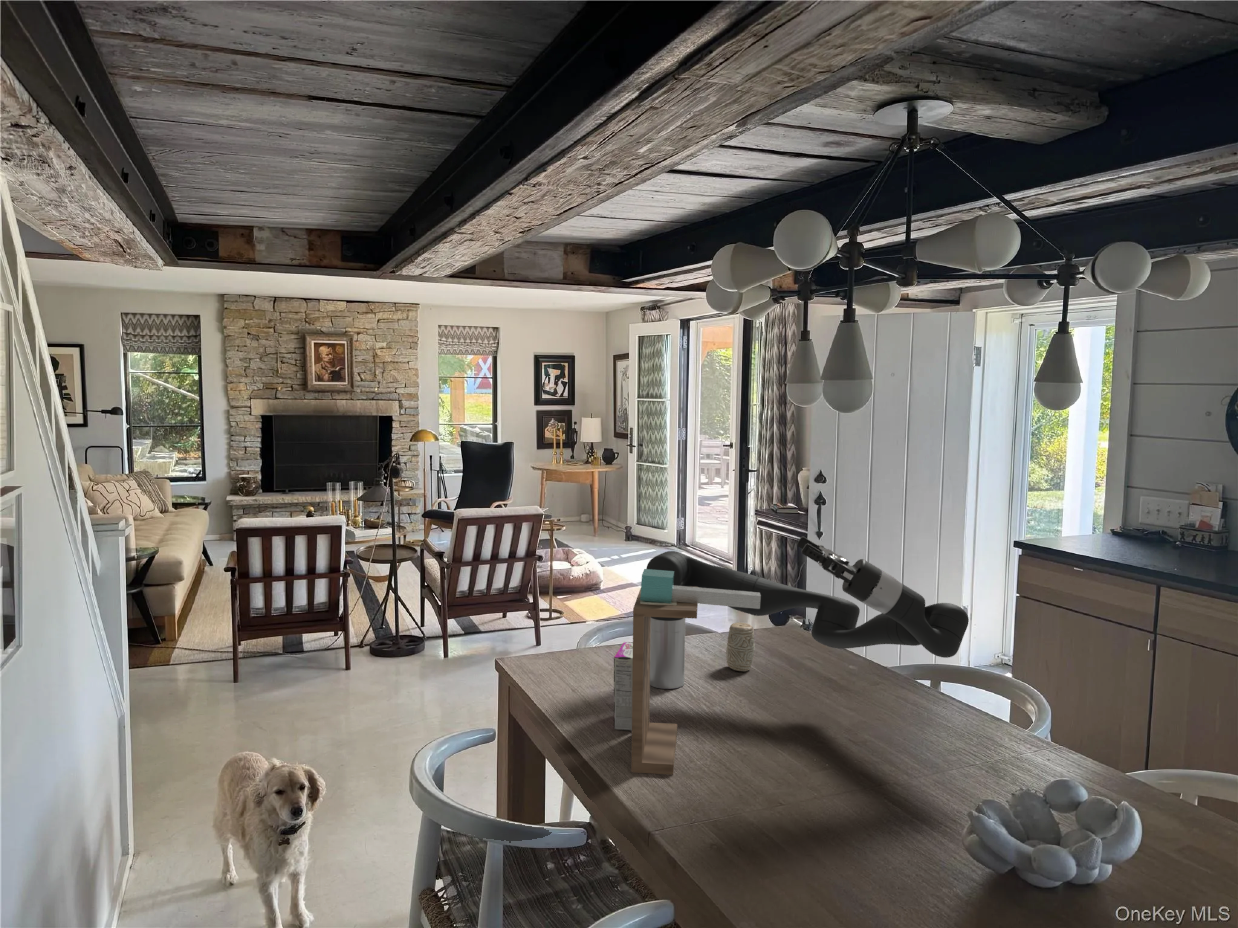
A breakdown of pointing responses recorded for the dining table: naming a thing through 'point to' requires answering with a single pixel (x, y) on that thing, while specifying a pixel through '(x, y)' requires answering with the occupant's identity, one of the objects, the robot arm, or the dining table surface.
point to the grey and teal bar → (691, 592)
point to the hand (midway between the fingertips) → (801, 544)
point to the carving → (740, 646)
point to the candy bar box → (623, 687)
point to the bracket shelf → (649, 739)
